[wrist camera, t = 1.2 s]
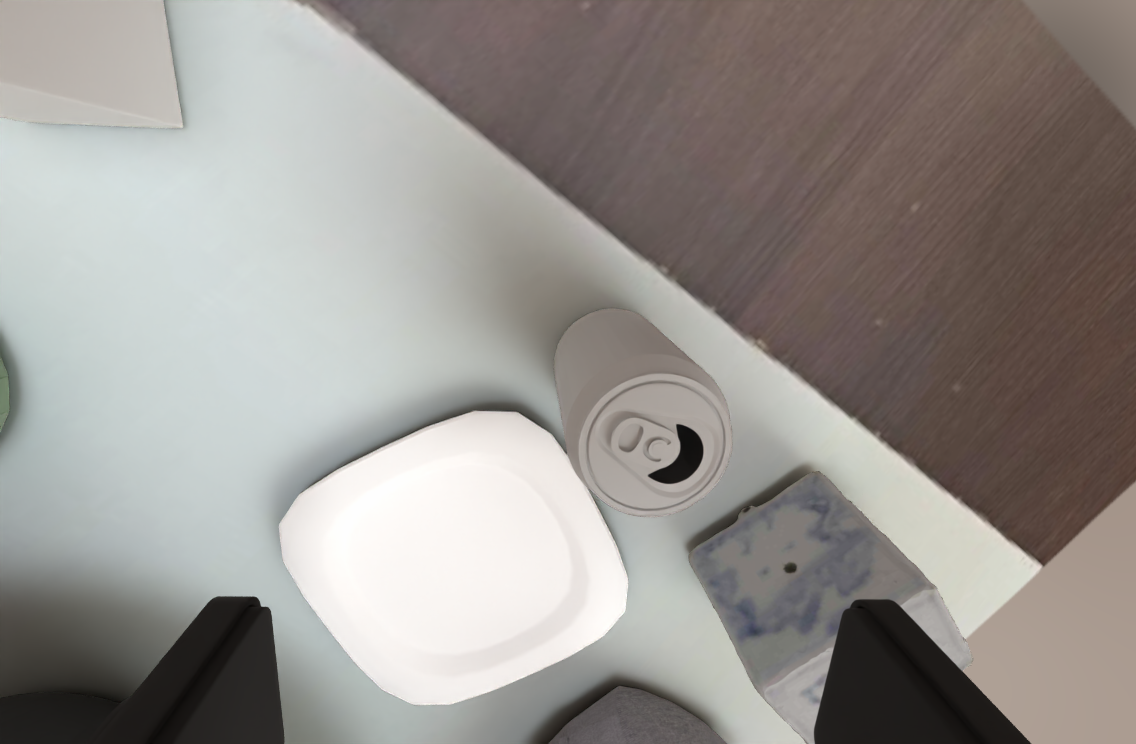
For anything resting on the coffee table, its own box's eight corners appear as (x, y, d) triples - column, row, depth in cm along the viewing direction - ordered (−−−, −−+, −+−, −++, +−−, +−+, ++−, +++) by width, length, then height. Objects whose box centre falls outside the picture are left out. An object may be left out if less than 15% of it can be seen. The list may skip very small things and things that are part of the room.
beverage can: (631, 429, 32) (690, 551, 21) (533, 387, 31) (538, 491, 19) (683, 334, 31) (778, 408, 19) (582, 286, 29) (619, 333, 18)
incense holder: (742, 624, 37) (822, 778, 27) (678, 543, 35) (739, 677, 25) (867, 546, 36) (998, 676, 26) (808, 457, 33) (928, 561, 24)
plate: (410, 710, 37) (404, 733, 35) (252, 502, 32) (237, 517, 30) (650, 603, 36) (656, 621, 34) (529, 369, 31) (529, 378, 29)
